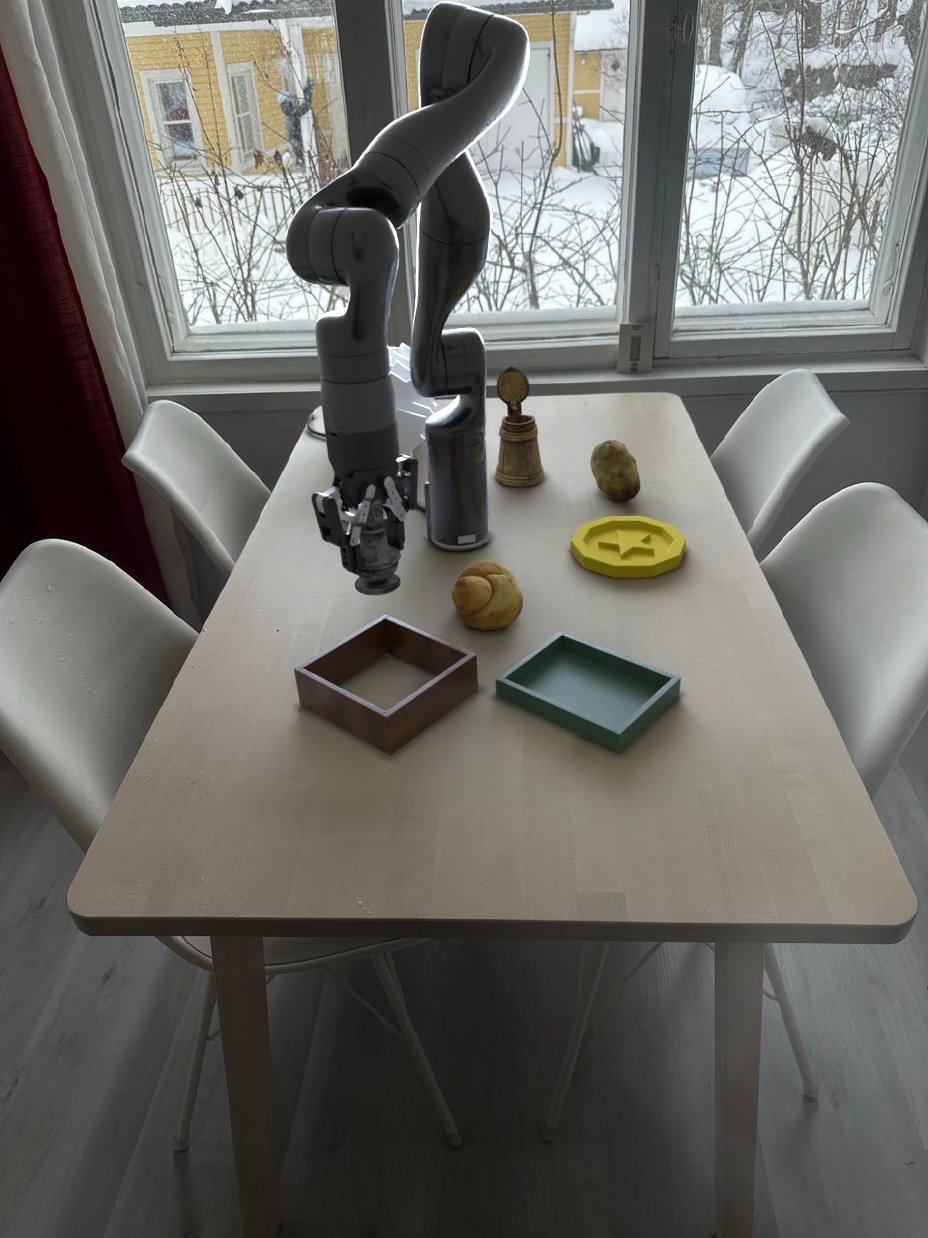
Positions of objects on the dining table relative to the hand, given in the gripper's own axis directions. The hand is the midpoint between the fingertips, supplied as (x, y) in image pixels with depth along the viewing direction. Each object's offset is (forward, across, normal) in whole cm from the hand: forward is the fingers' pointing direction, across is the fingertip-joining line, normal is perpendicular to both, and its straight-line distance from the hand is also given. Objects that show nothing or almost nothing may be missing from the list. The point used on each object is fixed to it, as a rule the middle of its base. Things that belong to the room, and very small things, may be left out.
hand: (375, 559), depth 104 cm
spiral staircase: (+20, -61, -59) cm, 87 cm away
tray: (+19, -15, +19) cm, 31 cm away
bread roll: (+20, -23, -3) cm, 30 cm away
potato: (+20, -68, -11) cm, 71 cm away
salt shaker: (+3, 0, 0) cm, 3 cm away
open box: (+19, 0, 0) cm, 19 cm away
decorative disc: (+20, -50, +3) cm, 54 cm away
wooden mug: (+20, -65, -30) cm, 74 cm away
